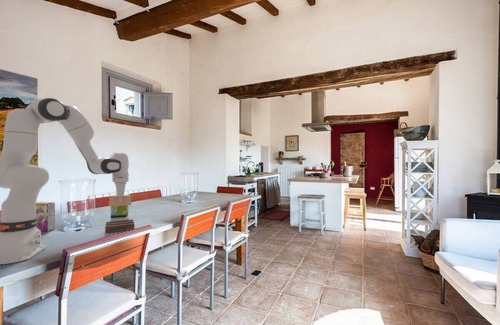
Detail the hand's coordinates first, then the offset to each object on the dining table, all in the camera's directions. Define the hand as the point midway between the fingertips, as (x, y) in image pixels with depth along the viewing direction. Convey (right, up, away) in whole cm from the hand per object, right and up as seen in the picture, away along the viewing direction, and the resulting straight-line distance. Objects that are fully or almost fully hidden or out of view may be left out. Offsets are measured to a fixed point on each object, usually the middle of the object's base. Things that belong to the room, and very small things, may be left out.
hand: (120, 201), depth 147 cm
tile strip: (0, -3, 0) cm, 3 cm away
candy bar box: (-42, -16, -7) cm, 46 cm away
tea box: (-10, -17, +18) cm, 26 cm away
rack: (+1, -16, -2) cm, 17 cm away
